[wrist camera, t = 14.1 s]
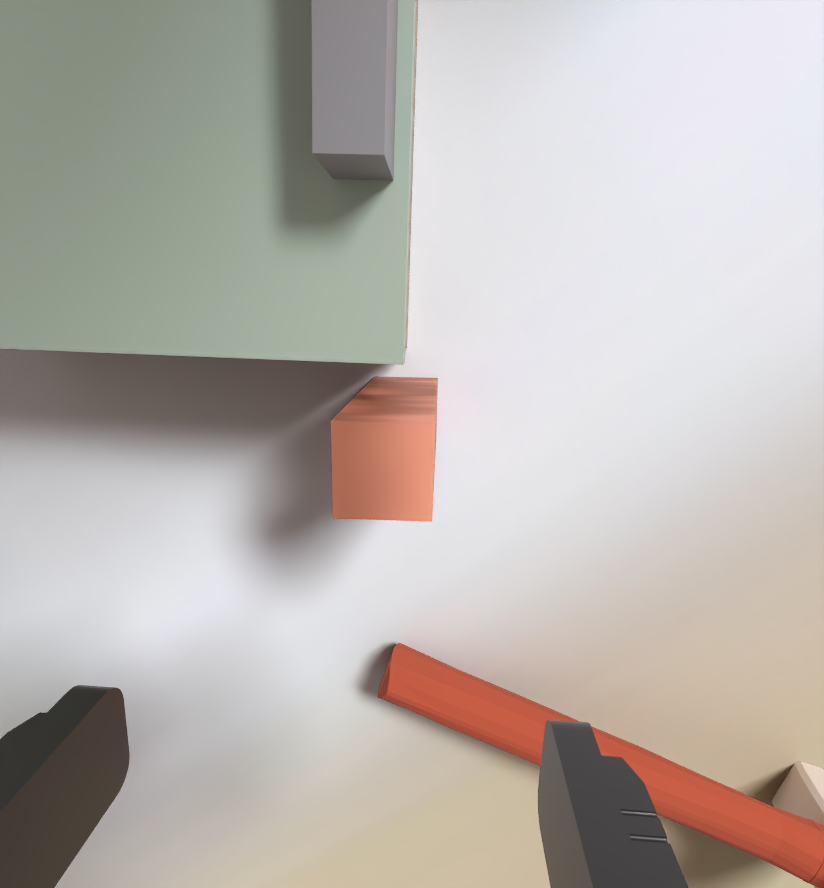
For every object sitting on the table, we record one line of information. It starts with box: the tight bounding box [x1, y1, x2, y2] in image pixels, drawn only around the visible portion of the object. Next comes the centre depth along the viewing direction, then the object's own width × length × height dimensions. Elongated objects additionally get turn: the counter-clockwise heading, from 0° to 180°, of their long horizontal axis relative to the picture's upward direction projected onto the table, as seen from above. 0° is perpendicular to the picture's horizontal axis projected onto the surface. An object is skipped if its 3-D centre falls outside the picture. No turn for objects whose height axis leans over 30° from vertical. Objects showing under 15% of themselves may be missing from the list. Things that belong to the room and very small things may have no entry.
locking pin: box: [331, 377, 438, 521], centre depth 24 cm, size 3×3×12 cm
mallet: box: [378, 643, 824, 888], centre depth 31 cm, size 11×4×30 cm
